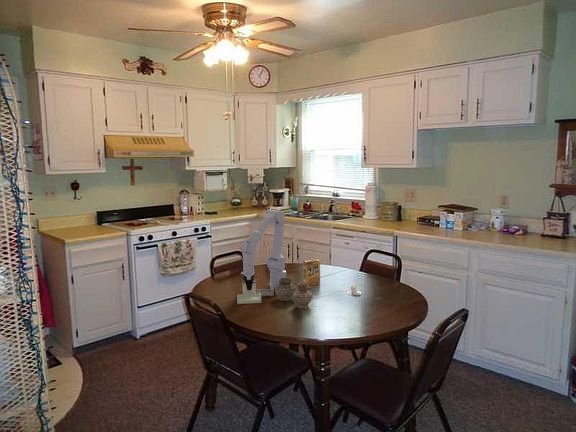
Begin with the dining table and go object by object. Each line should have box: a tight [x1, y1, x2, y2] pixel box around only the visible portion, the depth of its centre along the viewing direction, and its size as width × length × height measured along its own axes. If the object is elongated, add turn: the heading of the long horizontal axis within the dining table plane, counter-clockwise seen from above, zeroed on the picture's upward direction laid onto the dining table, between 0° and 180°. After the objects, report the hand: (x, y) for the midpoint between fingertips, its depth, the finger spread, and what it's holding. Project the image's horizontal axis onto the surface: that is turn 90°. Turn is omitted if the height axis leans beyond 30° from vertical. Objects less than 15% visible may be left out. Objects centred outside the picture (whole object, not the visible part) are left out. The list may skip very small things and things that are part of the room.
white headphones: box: [346, 285, 362, 296], centre depth 231 cm, size 9×8×4 cm
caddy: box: [241, 279, 257, 294], centre depth 230 cm, size 8×4×7 cm, turn 95°
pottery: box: [274, 277, 313, 309], centre depth 217 cm, size 11×25×12 cm, turn 38°
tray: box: [236, 293, 262, 305], centre depth 222 cm, size 12×9×2 cm
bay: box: [256, 285, 275, 297], centre depth 231 cm, size 9×7×4 cm
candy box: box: [302, 258, 321, 289], centre depth 242 cm, size 9×4×15 cm, turn 113°
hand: (249, 288), depth 230 cm, fingers closed on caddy, 4 cm apart
